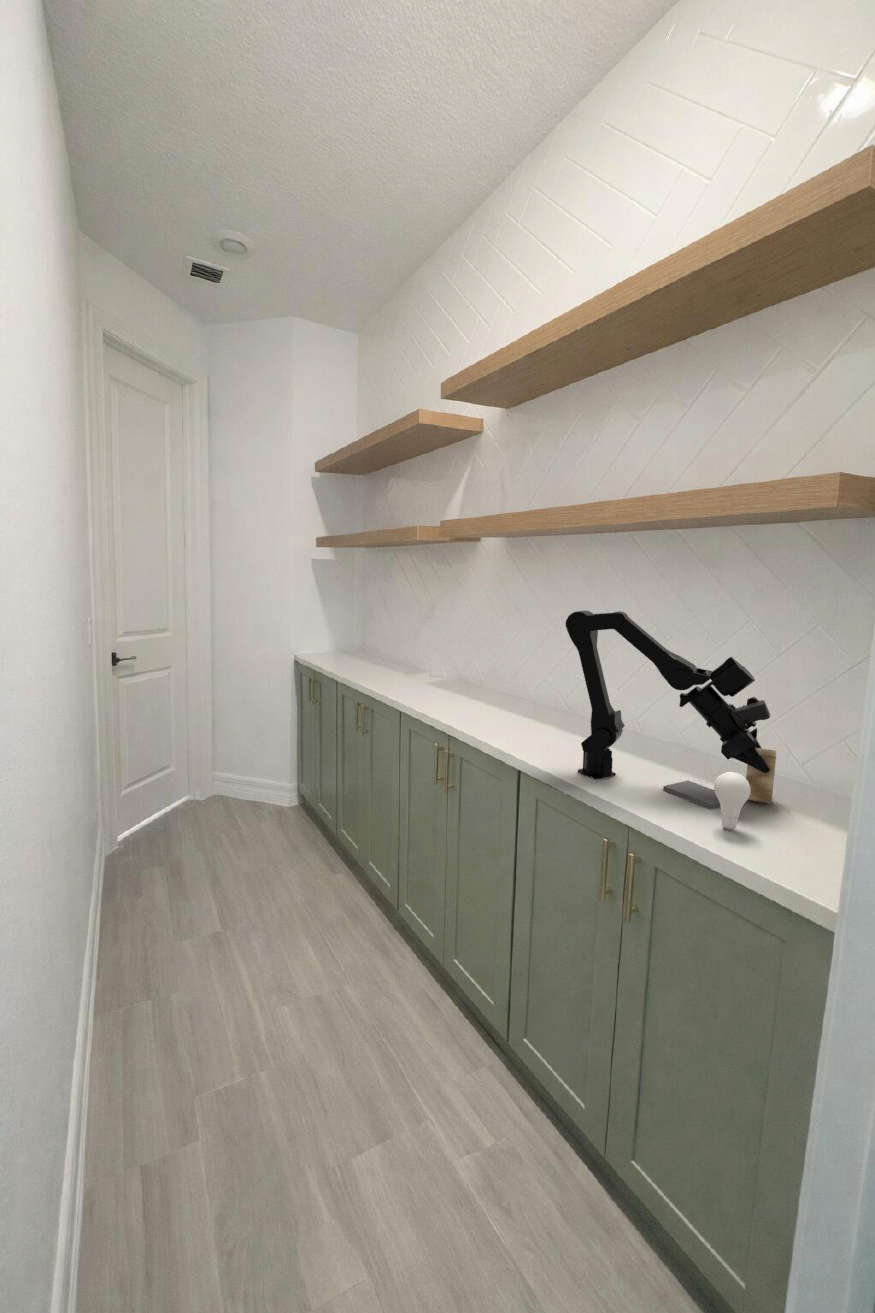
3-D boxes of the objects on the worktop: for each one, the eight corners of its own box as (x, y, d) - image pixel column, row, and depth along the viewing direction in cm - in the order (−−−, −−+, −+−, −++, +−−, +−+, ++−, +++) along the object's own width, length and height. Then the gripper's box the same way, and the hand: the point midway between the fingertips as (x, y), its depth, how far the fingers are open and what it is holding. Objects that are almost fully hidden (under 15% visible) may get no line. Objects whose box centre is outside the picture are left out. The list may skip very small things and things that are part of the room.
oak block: (744, 798, 125) (748, 752, 124) (745, 791, 130) (749, 746, 128) (771, 803, 123) (776, 756, 121) (771, 796, 127) (776, 750, 126)
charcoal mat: (663, 790, 133) (663, 786, 132) (687, 784, 136) (687, 780, 136) (710, 809, 122) (711, 804, 122) (735, 802, 126) (735, 797, 126)
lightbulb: (727, 837, 109) (732, 779, 107) (703, 824, 115) (708, 768, 113) (754, 834, 110) (759, 776, 109) (730, 820, 116) (734, 766, 115)
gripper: (744, 694, 117) (805, 758, 113) (748, 680, 133) (801, 735, 129) (698, 728, 122) (754, 790, 118) (707, 710, 138) (756, 764, 134)
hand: (768, 768), depth 125 cm, fingers closed on oak block, 5 cm apart
